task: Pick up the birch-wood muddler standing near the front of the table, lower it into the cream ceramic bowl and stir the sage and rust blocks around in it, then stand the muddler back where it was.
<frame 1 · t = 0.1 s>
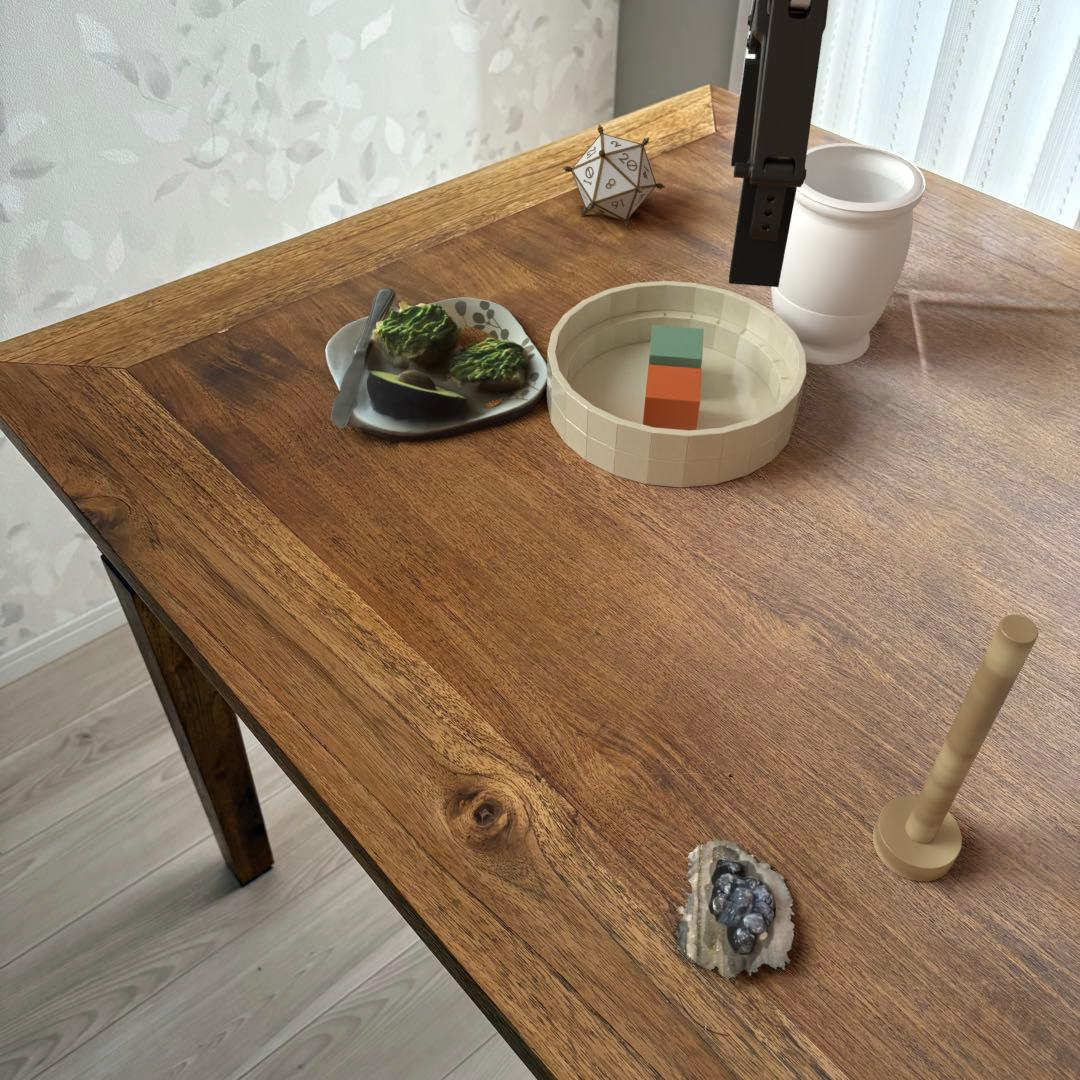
hand: (752, 219, 66), 21 cm above the table, tool pointing down, fingers open, 13 cm apart
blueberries: (728, 909, 58), on the table
salad plate: (434, 383, 90), on the table
bowl: (670, 409, 87), on the table
rust block: (669, 424, 85), point 1 cm above the table, touching bowl
game die: (611, 217, 108), on the table
jar: (818, 341, 94), on the table
muddler: (913, 844, 61), on the table
sage block: (672, 382, 88), point 1 cm above the table, touching bowl
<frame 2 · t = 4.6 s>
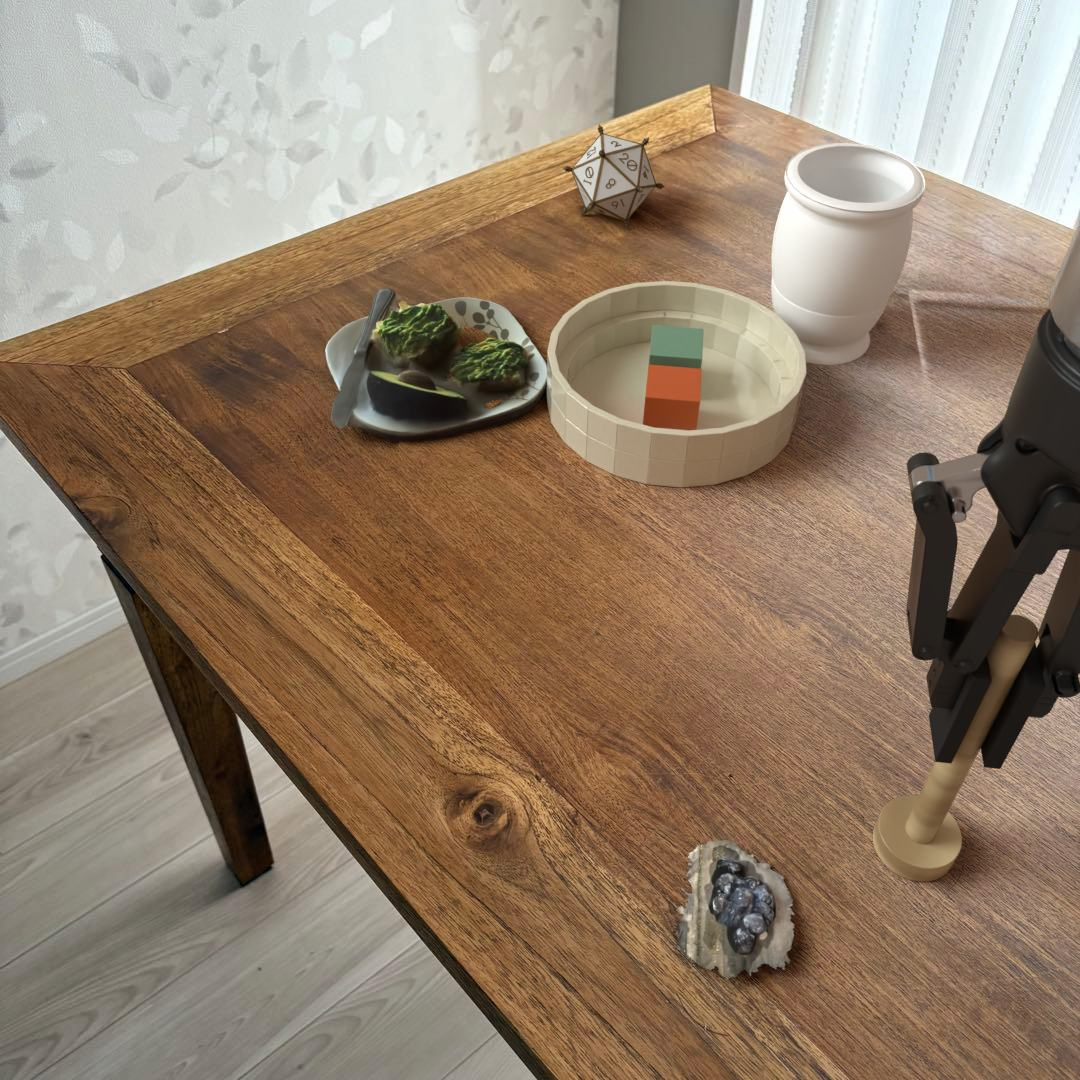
hand: (963, 741, 54), 10 cm above the table, tool pointing down, fingers closed on muddler, 2 cm apart
muddler: (913, 844, 61), on the table, touching gripper
everything else where it was.
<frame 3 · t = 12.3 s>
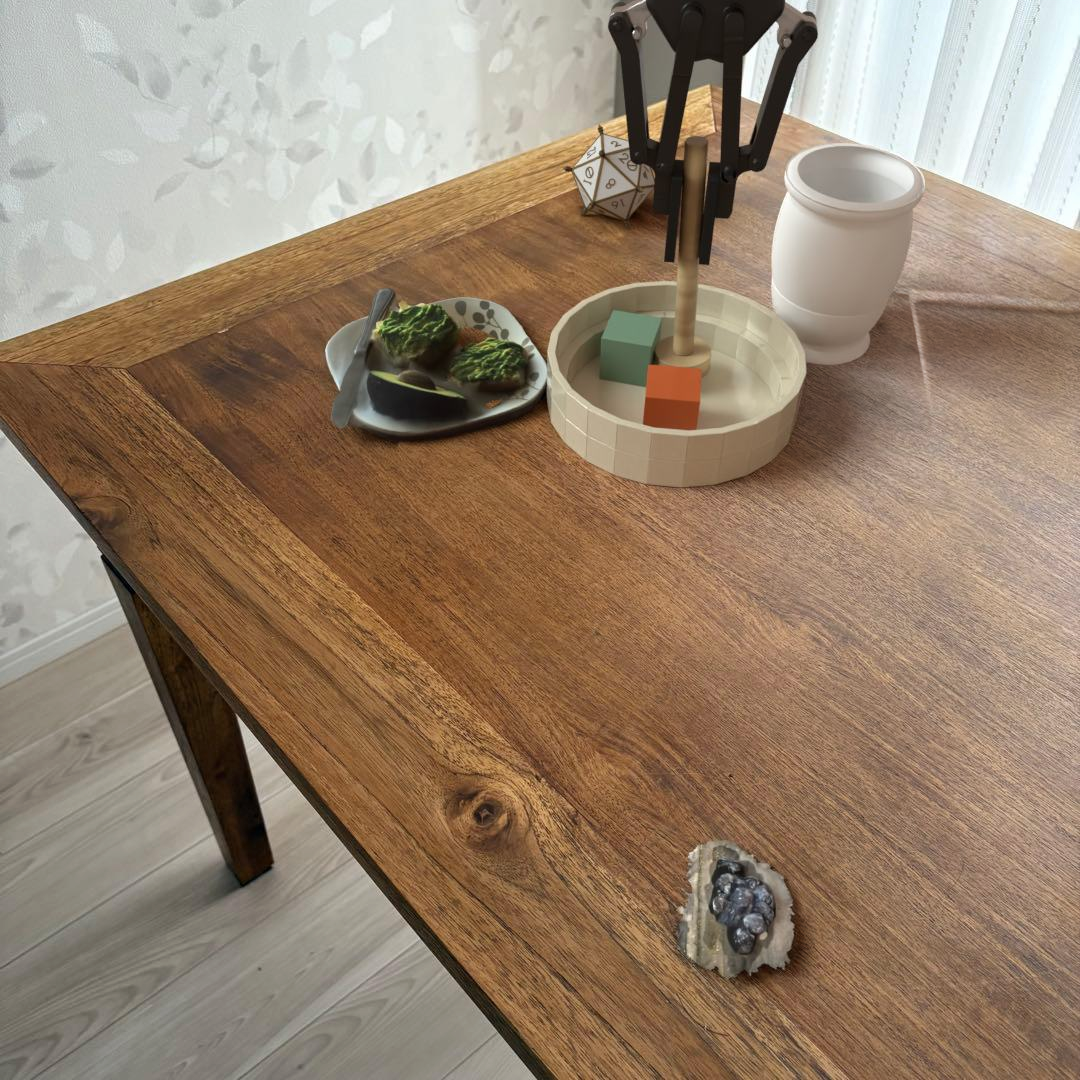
hand: (687, 253, 81), 12 cm above the table, tool pointing down, fingers closed on muddler, 2 cm apart
muddler: (682, 366, 88), point 2 cm above the table, touching gripper, sage block
sage block: (629, 368, 90), point 1 cm above the table, touching bowl, muddler
everything else where it was.
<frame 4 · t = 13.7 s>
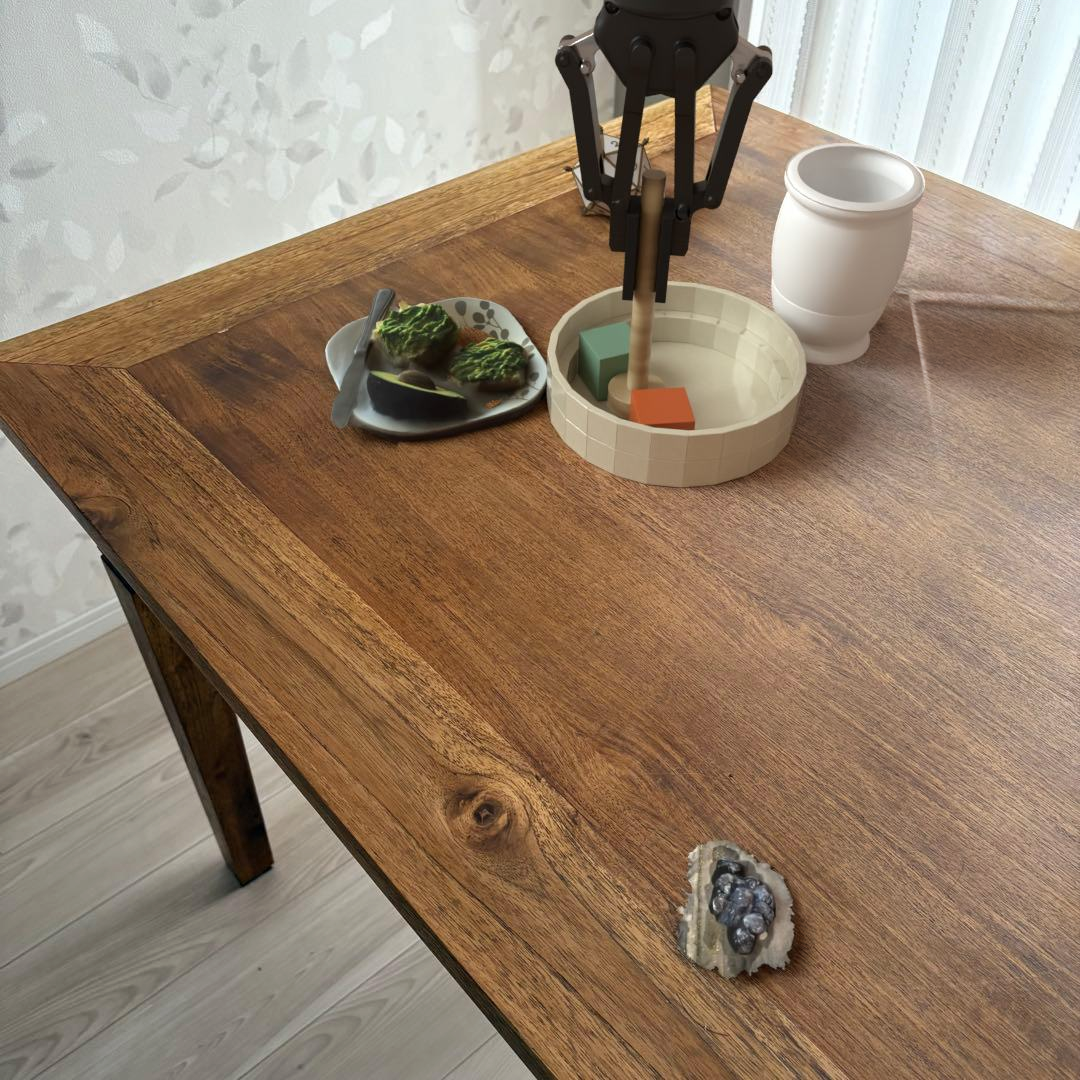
hand: (644, 290, 78), 12 cm above the table, tool pointing down, fingers closed on muddler, 2 cm apart
rust block: (658, 447, 83), point 1 cm above the table, touching bowl, muddler
muddler: (635, 403, 85), point 2 cm above the table, touching gripper, rust block, sage block
sage block: (610, 381, 88), point 1 cm above the table, touching bowl, muddler
everything else where it was.
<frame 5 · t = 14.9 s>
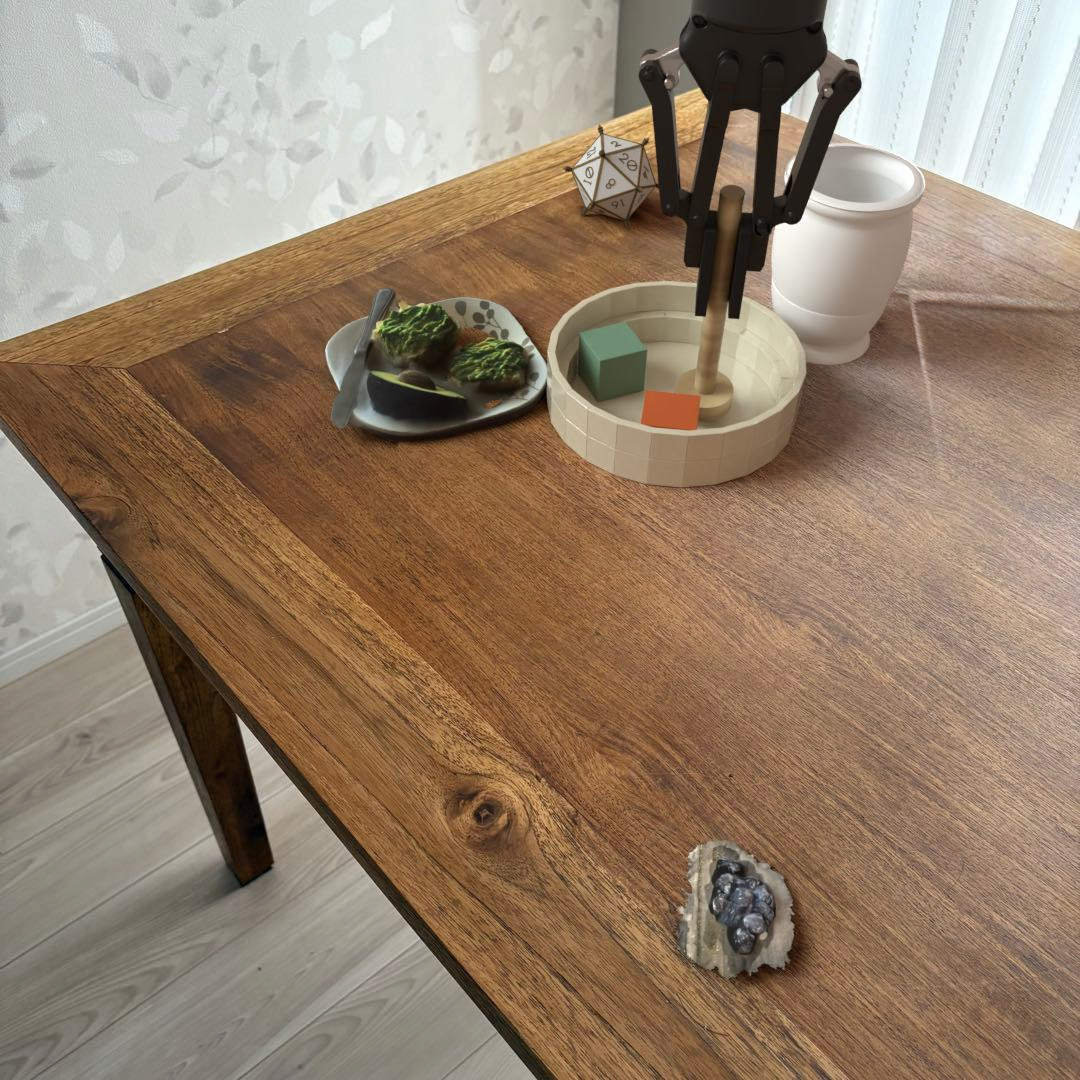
hand: (717, 306, 77), 11 cm above the table, tool pointing down, fingers closed on muddler, 2 cm apart
rust block: (666, 451, 83), point 1 cm above the table, touching bowl
muddler: (702, 401, 85), point 2 cm above the table, tilted 5°, touching gripper
sage block: (610, 382, 88), point 1 cm above the table, touching bowl
everything else where it was.
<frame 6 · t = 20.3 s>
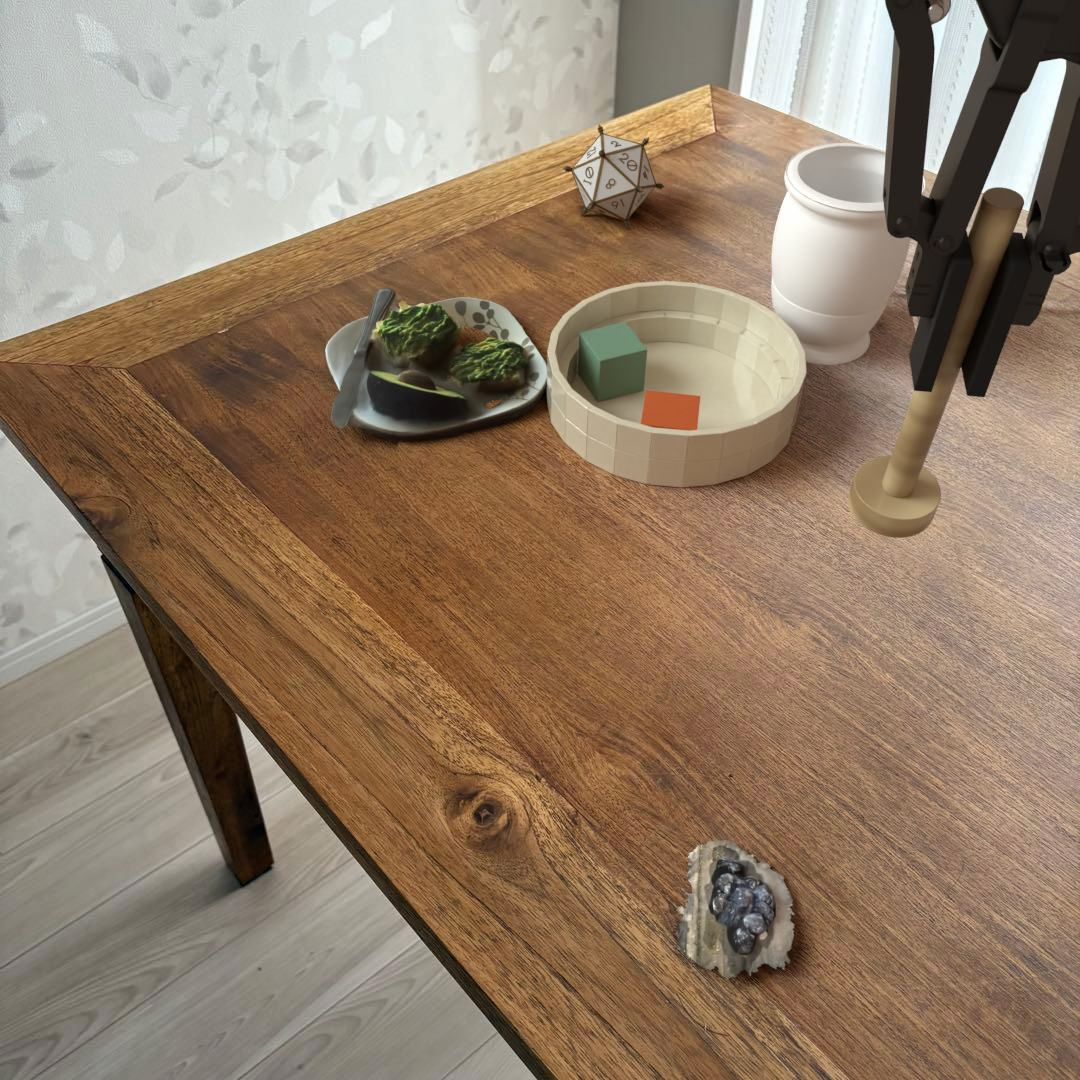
hand: (945, 374, 50), 25 cm above the table, tool pointing down, fingers closed on muddler, 2 cm apart
muddler: (890, 505, 58), point 15 cm above the table, tilted 5°, touching gripper
everything else where it was.
when the fingers open (10 cm above the table, at t = 25.3 s): muddler stays where it is, on the table.
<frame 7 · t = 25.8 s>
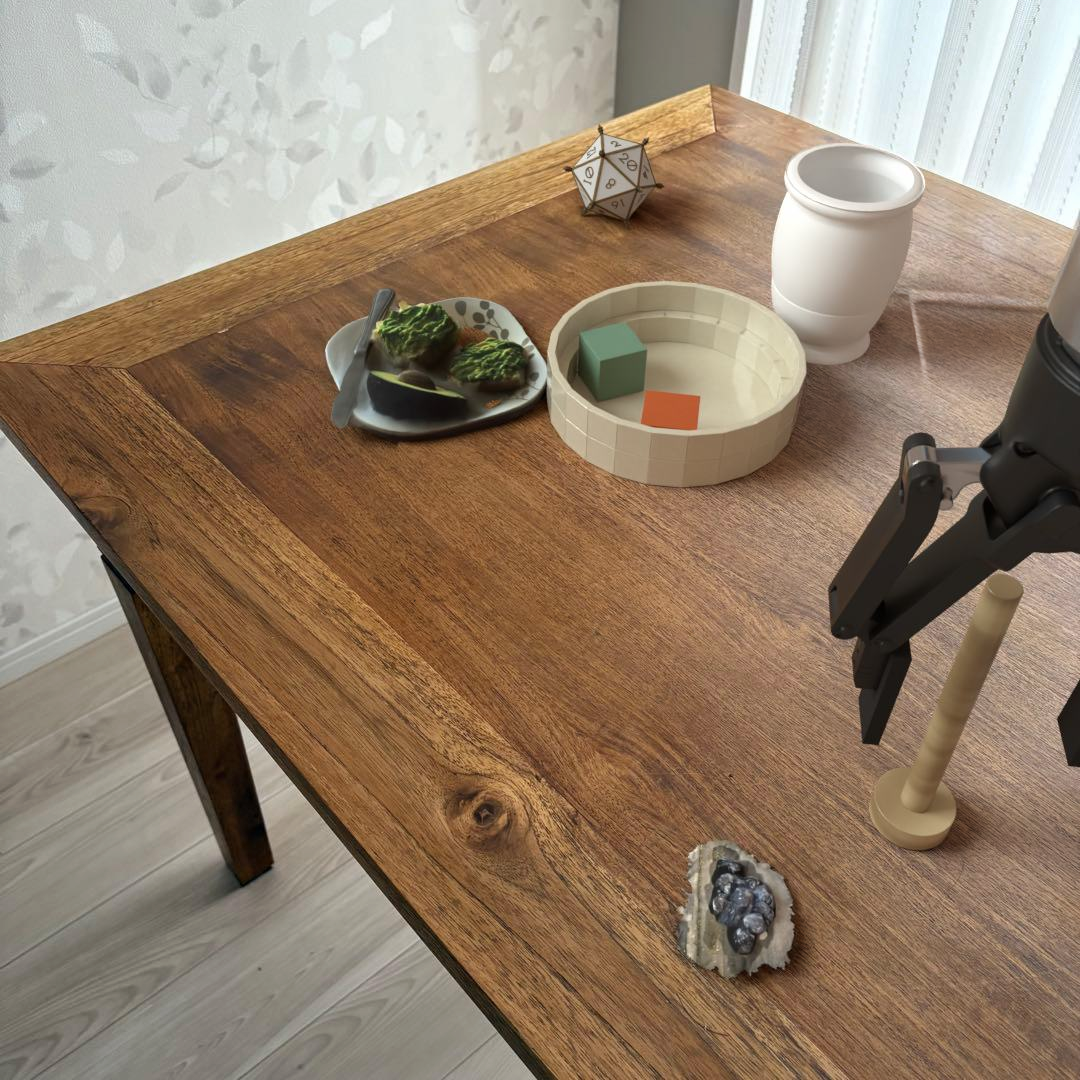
hand: (968, 731, 53), 11 cm above the table, tool pointing down, fingers open, 9 cm apart
muddler: (908, 815, 62), on the table
everything else where it was.
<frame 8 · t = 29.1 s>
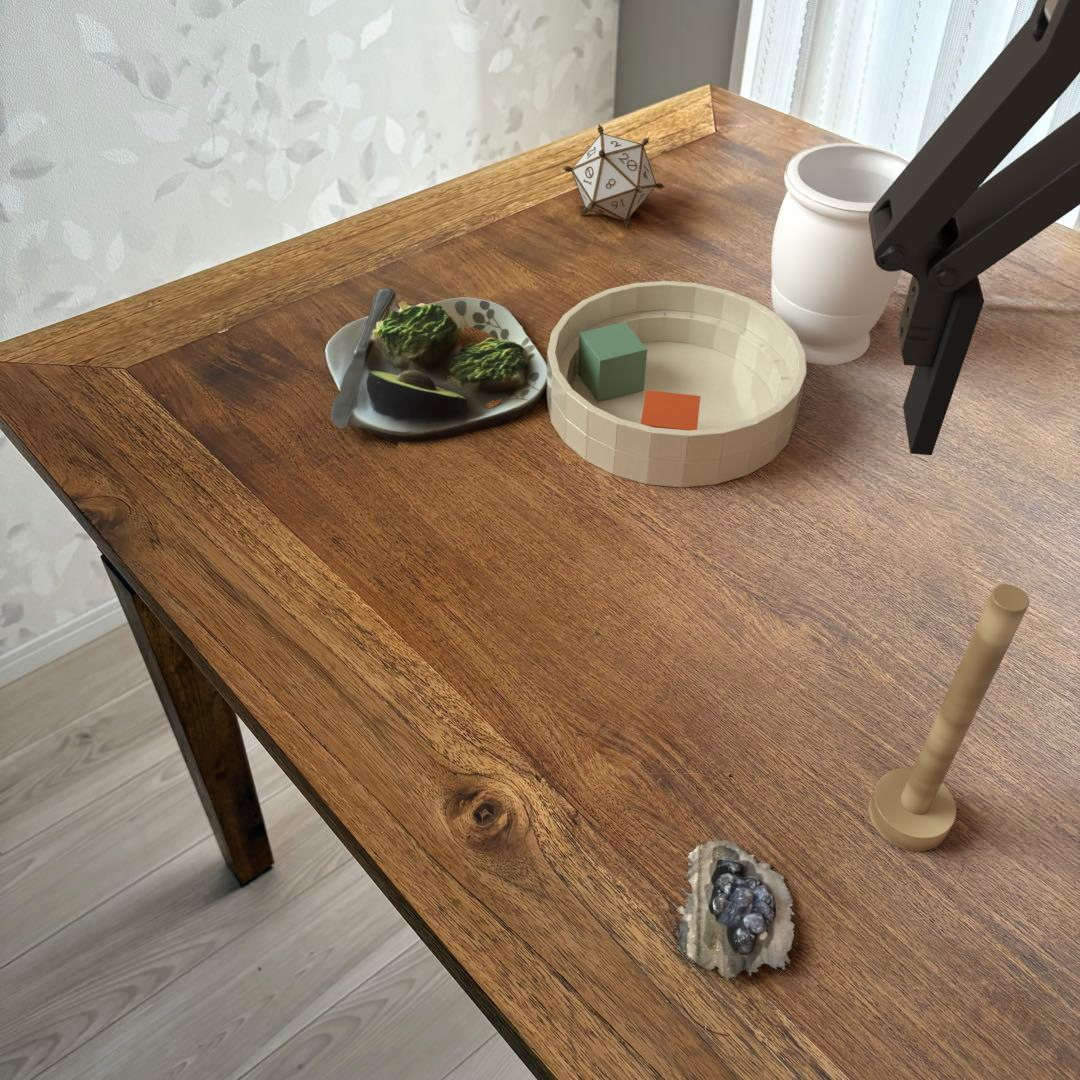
nothing on the table moved.
at the end: sage block moved 4.9 cm from its start; sage block inside the target area in the bowl (5.3 cm from its centre), point 0.6 cm above the bowl's base; muddler tilted 0° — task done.
